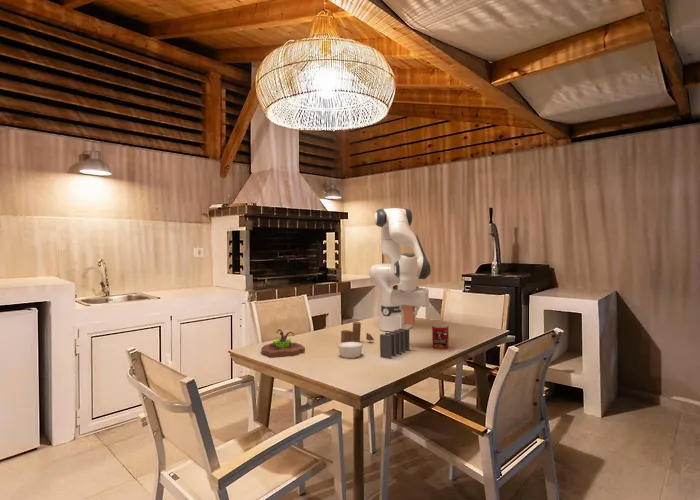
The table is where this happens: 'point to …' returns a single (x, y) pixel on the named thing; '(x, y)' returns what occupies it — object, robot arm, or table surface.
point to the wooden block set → (353, 334)
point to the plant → (282, 347)
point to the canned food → (440, 336)
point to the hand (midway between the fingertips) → (409, 314)
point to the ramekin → (350, 349)
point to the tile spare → (409, 314)
